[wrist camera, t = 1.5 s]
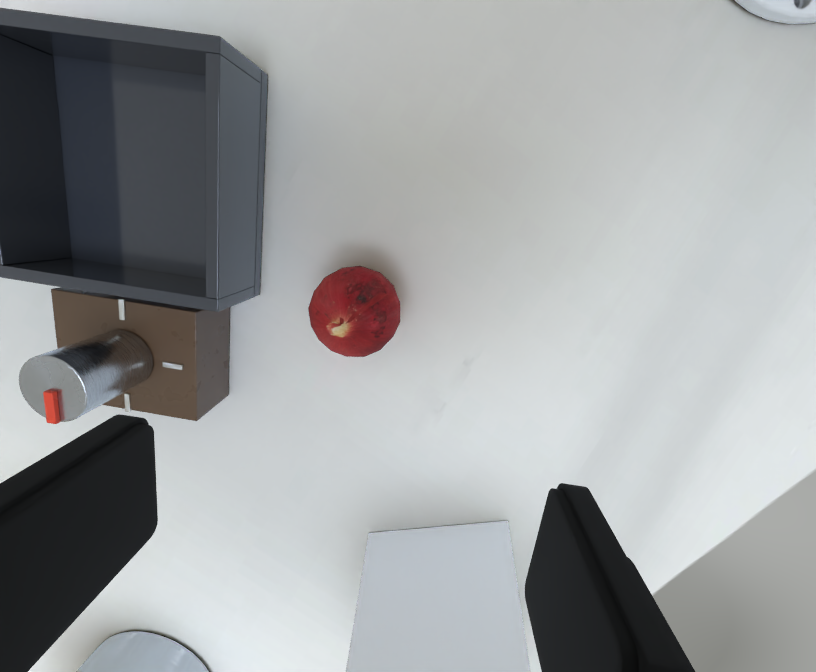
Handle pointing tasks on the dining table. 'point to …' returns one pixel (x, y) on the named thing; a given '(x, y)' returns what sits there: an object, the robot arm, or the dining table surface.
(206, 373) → the block
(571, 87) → the dining table surface
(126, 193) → the dark grey open box
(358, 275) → the red round fruit
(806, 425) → the dining table surface
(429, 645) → the milk
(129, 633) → the utensil holder
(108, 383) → the metal rotary knob
